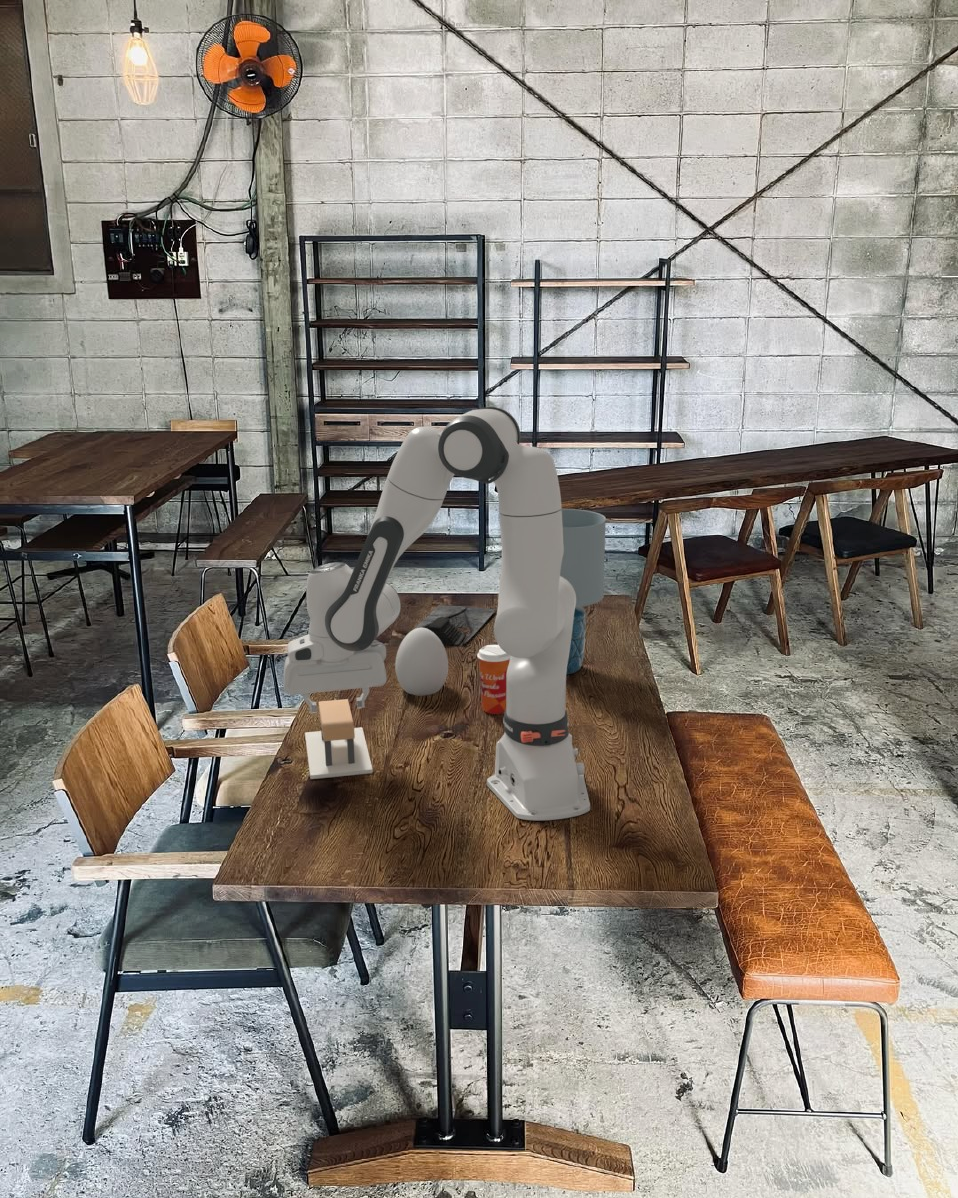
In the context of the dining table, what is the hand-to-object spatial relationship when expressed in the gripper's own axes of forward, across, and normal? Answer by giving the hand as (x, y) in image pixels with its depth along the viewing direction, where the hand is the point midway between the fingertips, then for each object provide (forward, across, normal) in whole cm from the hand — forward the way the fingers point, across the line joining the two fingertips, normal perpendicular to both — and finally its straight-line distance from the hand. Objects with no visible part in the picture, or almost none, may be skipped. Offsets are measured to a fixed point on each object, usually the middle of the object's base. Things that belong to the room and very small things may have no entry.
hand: (337, 709), depth 211 cm
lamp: (+10, -56, -35) cm, 67 cm away
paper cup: (+10, -36, -15) cm, 40 cm away
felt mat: (+10, 0, 0) cm, 10 cm away
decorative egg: (+10, -22, -30) cm, 39 cm away
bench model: (+9, 0, 0) cm, 9 cm away
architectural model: (+10, -36, -73) cm, 82 cm away
